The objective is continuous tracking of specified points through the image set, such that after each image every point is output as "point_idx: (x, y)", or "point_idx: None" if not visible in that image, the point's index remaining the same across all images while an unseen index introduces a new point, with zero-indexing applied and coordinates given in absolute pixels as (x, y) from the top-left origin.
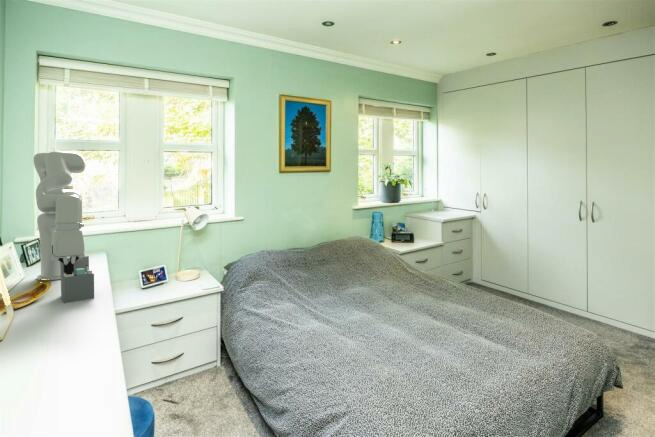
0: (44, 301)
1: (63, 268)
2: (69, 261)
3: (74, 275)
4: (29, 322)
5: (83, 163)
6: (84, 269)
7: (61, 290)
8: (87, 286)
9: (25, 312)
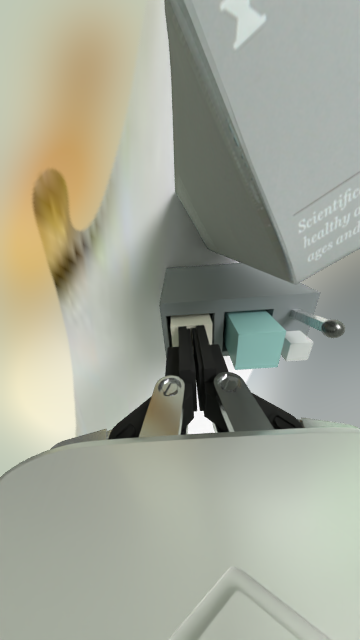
0: (117, 243)
1: (193, 173)
2: (211, 397)
3: (216, 340)
4: (98, 397)
5: None
6: (275, 365)
7: (164, 279)
8: None
9: (79, 332)
